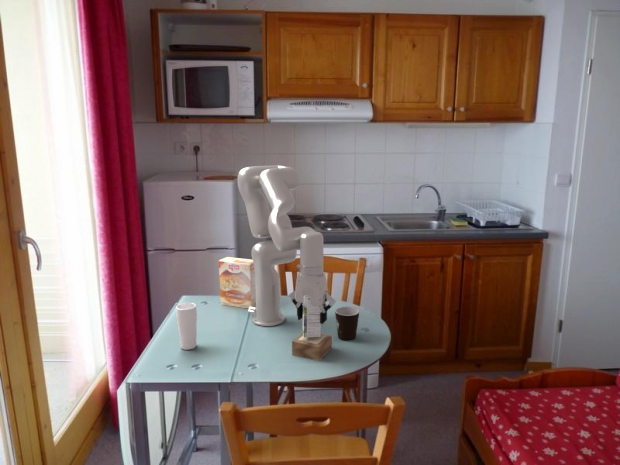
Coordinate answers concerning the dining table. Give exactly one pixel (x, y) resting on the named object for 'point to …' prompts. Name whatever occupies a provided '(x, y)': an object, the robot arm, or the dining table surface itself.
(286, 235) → the robot arm
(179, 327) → the drinking glass
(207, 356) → the dining table surface
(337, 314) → the coffee mug
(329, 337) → the pedestal
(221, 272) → the coffeecake box
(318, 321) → the syrup box
